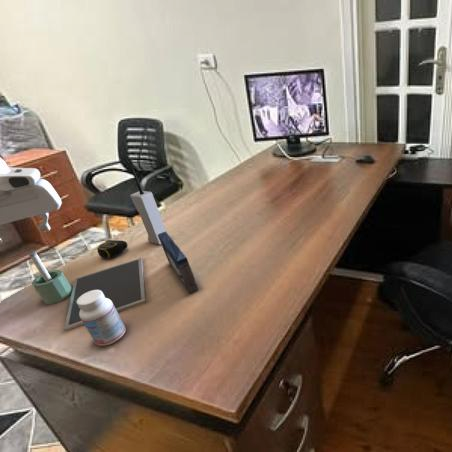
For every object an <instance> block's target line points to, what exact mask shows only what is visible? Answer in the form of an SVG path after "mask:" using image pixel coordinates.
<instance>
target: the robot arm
mask: <svg viewBox="0 0 452 452" xmlns="http://www.w3.org/2000/svg"><path fill="white" fill-rule="evenodd" d="M62 204H63V201H62V198H61V197H60V195H59V194H58V192H57V191H56V190H55V188H54V187H53V185H52V184H51V183H50V182H49V181H48V180H46V179H44V178H42V177H41V172H40V170H39V169H37V168H34V167H13V166H12V167H11V166H8V164H7V163H6V161H5V159H3V158H2V157H1V156H0V225H1V226H2V225H5V224H8V223H13V222H16V221H20V220H24V219H28V218H33V217H36V216H38V217H39V219H43V220H42V222H40V223H39V225H38V227H39V230H41V233H45V232H49V231H51V228H52V227H51V225H50V224H49V222H48V221H49V216H50V213H51V212H56V211H58V210H59V209H60V208H61V206H62ZM3 242H4V240H3V238H2V236H1V235H0V244H3Z"/></svg>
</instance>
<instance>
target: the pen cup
mask: <svg viewBox="0 0 452 452" xmlns="http://www.w3.org/2000/svg"><path fill="white" fill-rule="evenodd" d="M48 273H49V275H50V276H51V278H52V280H51V281H48V282H45V280H44V278H43V277H42V275H41V274H40V275H37V276H36V277H35V278H34V279H33V280H32V281H31V285H32V287H33V289H34V290H35V291H36V293H37V294H38V296H39V297H40V299H41V301H43V303H44V304H46V305H52V304H57V303H59V302H62V301H64V300H66V299H67V298H68V297H70V296H71V294H72V289H73V286H71V284H70V282H69V281H68V279H67V277H66V276H65V274H64V272H63V271H62V270H61V269H54V270H49V271H48Z"/></svg>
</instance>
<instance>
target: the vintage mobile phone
mask: <svg viewBox="0 0 452 452" xmlns="http://www.w3.org/2000/svg"><path fill="white" fill-rule="evenodd" d="M130 170H131V172H132V175H133V178H134V180H135V183H136V186H137V188H138V191H136V192H134V193H132V194H130V199H131V201H132V202H133V203H132V204H134V207H135V209H136V211H137V212H138V214H139V216H140V219H141V221H142V224H143V226H144V228H145V231H146V233H147V240H148V242H149V243H150V244H155V245H160V246H162V245H161V242H160V240H159V237H158V234H160V233H163V232H167V229H166V226H165V224H164V221H163V218H162V216H161V214H160V211H159V208H158V205H157V202H156V200H155V197H154V194H153V193H152V192H151V191H146V190H143V188H142V186H141V183H140V180H139V179H138V177H137V174H136V172H135V169H134V167H130Z"/></svg>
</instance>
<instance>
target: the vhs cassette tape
mask: <svg viewBox="0 0 452 452" xmlns="http://www.w3.org/2000/svg"><path fill="white" fill-rule="evenodd" d="M158 237H159V240H160V242H161V245H160V246H161V247H162V250H163V252H164V255H165V256H166V259H167V261H168V263H169V265H170V267H171V268H172V271H174V273H175V275H176V277H177V278H178V279H179V281H180V283H181V284H182V285H183V287H184V288H185V290H186V291H187V292H188V294H191V293H194V292H196V291H197V290H199V287H198V284H197V281H196V279H195V276H194V273H193V270H192V268H191V265H190V263H189V260H188V258H187V256H186V255H185V254H184V252H183V251H182V250H181V248H180V247H179V246H178V245H177V244H176V242H175V241H174V240H173V238H172V237H171V236H170V235H169V233H168V232H167V231H166V232H163V233H160V234H158Z"/></svg>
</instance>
